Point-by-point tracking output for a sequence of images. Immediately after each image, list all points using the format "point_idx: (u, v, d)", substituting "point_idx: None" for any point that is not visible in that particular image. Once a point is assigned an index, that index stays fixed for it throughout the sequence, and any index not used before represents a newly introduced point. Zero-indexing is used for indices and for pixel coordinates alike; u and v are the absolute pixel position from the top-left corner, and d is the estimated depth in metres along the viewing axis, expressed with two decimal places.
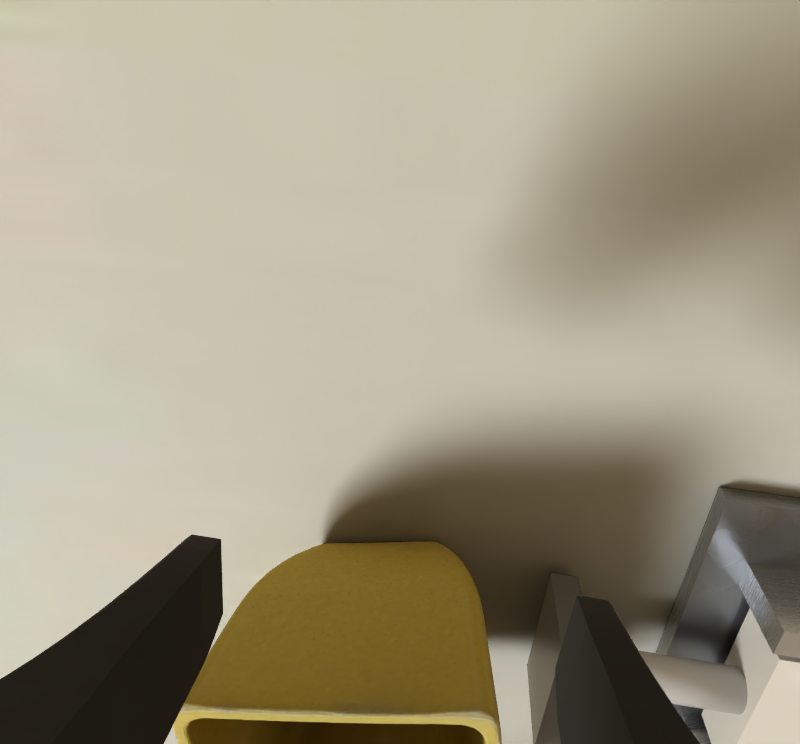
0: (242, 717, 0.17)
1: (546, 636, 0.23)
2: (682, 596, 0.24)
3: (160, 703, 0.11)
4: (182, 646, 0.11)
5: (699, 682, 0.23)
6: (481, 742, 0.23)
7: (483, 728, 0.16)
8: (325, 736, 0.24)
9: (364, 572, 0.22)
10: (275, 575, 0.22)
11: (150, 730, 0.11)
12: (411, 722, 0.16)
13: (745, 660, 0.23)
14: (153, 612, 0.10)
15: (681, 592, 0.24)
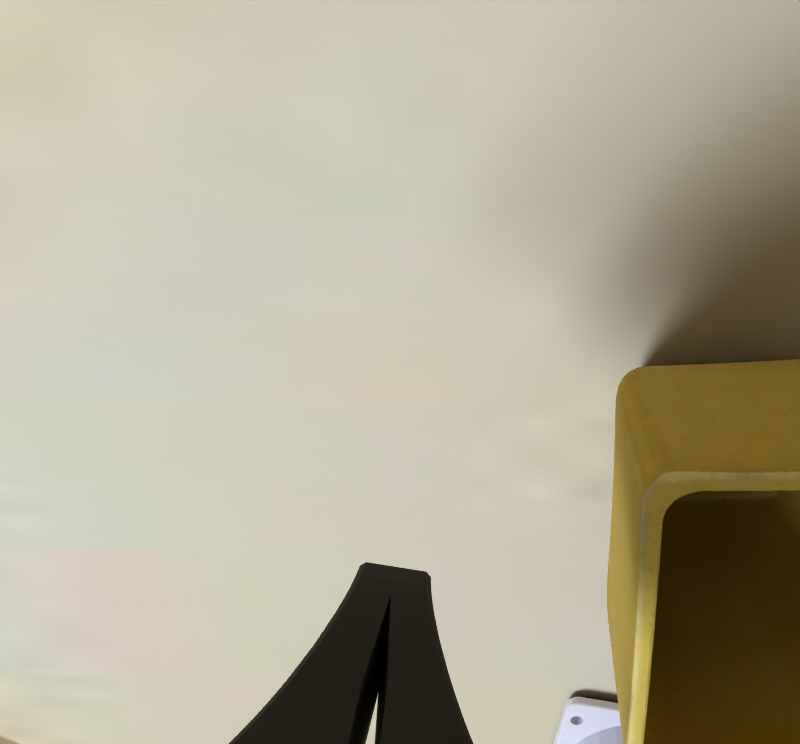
0: (768, 485, 0.12)
1: None
2: None
3: (361, 738, 0.11)
4: (374, 679, 0.11)
5: None
6: None
7: None
8: (661, 604, 0.19)
9: (764, 369, 0.17)
10: (645, 375, 0.17)
11: None
12: None
13: None
14: (367, 648, 0.10)
15: None
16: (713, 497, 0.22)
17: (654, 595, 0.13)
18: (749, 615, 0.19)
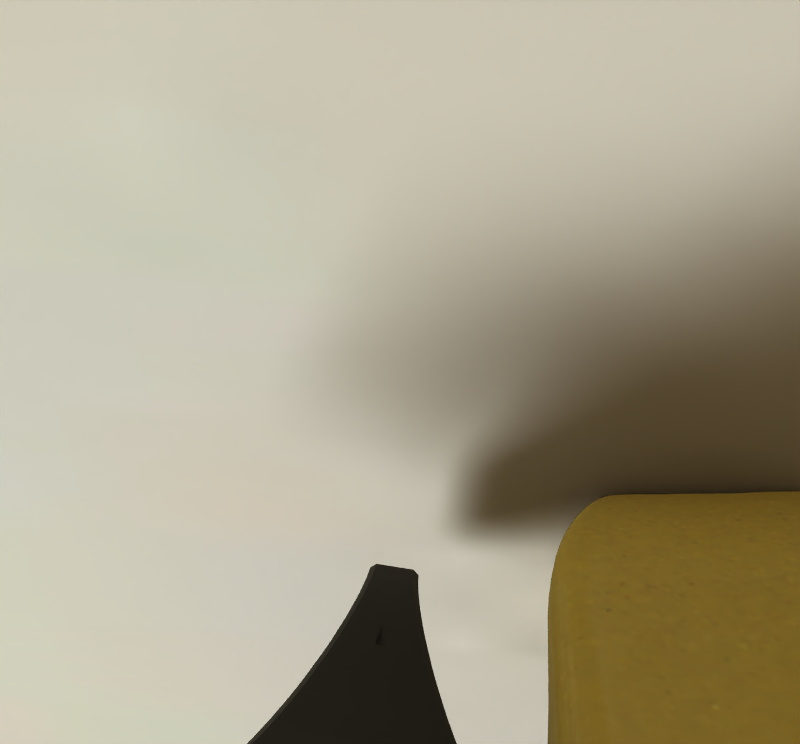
0: None
1: None
2: None
3: None
4: None
5: None
6: None
7: None
8: None
9: (785, 538, 0.10)
10: (597, 545, 0.11)
11: None
12: None
13: None
14: (380, 650, 0.10)
15: None
16: None
17: None
18: None
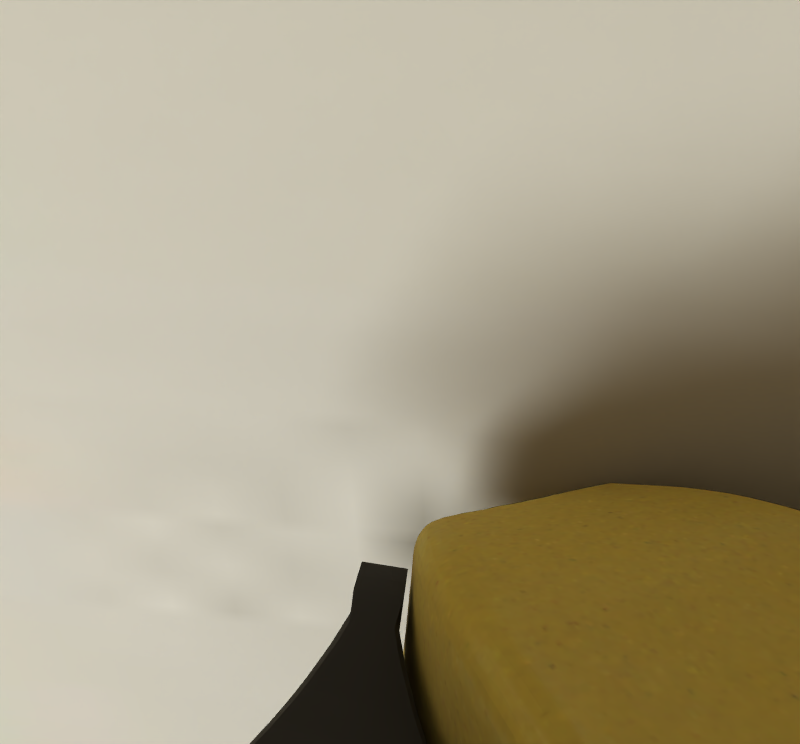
0: None
1: None
2: None
3: None
4: None
5: None
6: None
7: None
8: None
9: (639, 538, 0.10)
10: (488, 585, 0.09)
11: None
12: None
13: None
14: (381, 650, 0.10)
15: None
16: None
17: None
18: None
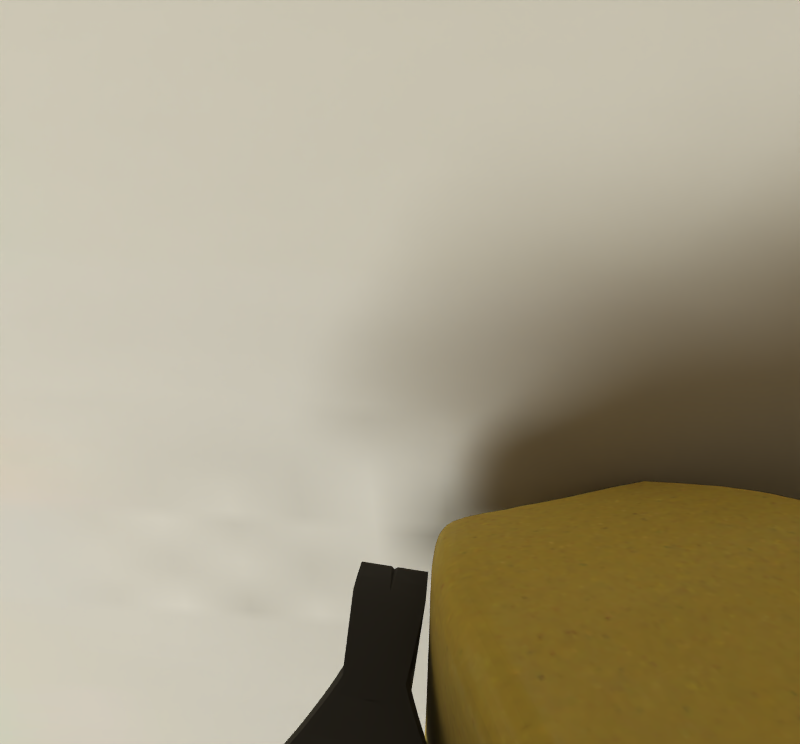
0: None
1: None
2: None
3: None
4: (410, 685, 0.11)
5: None
6: None
7: None
8: None
9: (659, 541, 0.10)
10: (489, 590, 0.09)
11: None
12: None
13: None
14: (406, 654, 0.10)
15: None
16: None
17: None
18: None
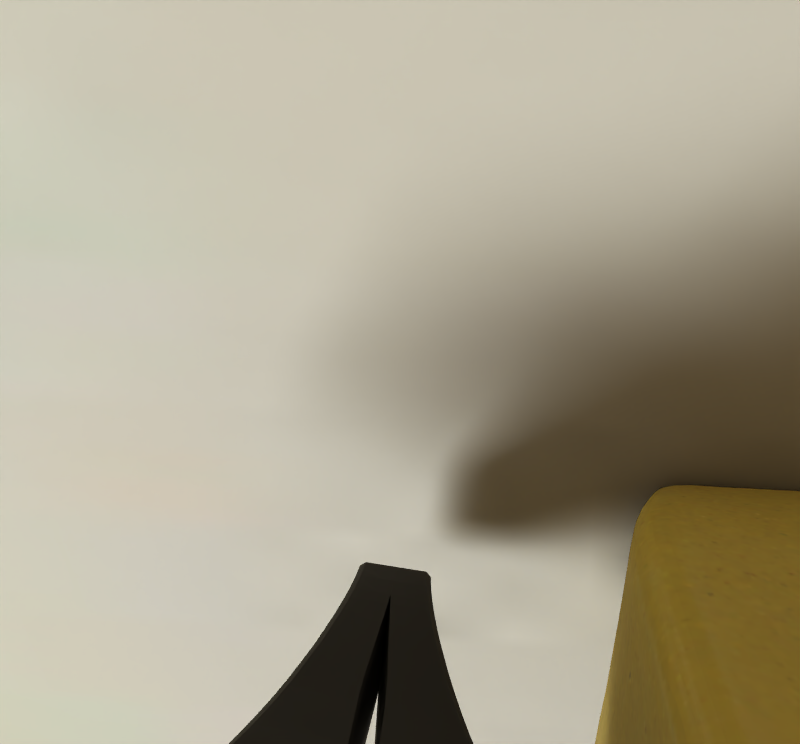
0: None
1: None
2: None
3: (361, 738, 0.11)
4: (374, 679, 0.11)
5: None
6: None
7: None
8: None
9: None
10: (684, 531, 0.10)
11: None
12: None
13: None
14: (367, 648, 0.10)
15: None
16: None
17: None
18: None
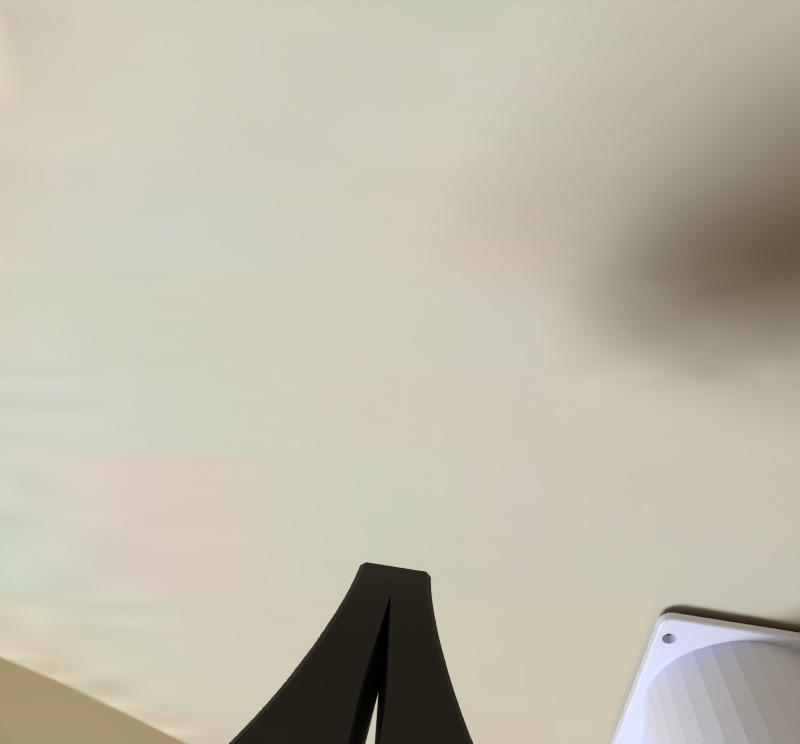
0: None
1: None
2: None
3: (361, 738, 0.11)
4: (374, 679, 0.11)
5: None
6: None
7: None
8: None
9: None
10: None
11: None
12: None
13: None
14: (367, 648, 0.10)
15: None
16: None
17: None
18: None
